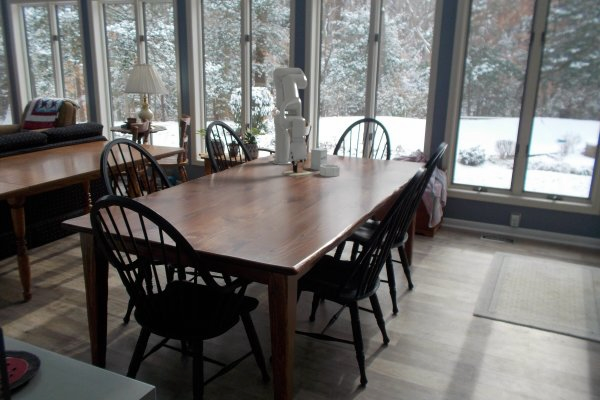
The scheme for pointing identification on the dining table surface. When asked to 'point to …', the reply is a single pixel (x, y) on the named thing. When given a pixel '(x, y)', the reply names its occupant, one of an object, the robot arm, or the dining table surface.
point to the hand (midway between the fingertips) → (298, 170)
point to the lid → (298, 171)
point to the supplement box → (318, 158)
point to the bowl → (329, 170)
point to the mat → (297, 177)
